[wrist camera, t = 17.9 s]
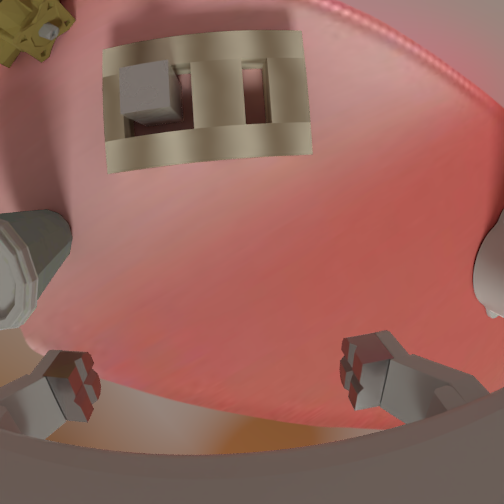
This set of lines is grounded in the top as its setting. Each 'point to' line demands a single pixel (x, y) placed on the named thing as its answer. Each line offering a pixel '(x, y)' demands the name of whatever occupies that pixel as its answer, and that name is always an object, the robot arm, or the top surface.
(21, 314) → the disposable coffee cup
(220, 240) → the top surface
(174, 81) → the square bit
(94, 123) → the top surface
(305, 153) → the tan flat slatted block
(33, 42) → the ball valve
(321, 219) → the top surface
